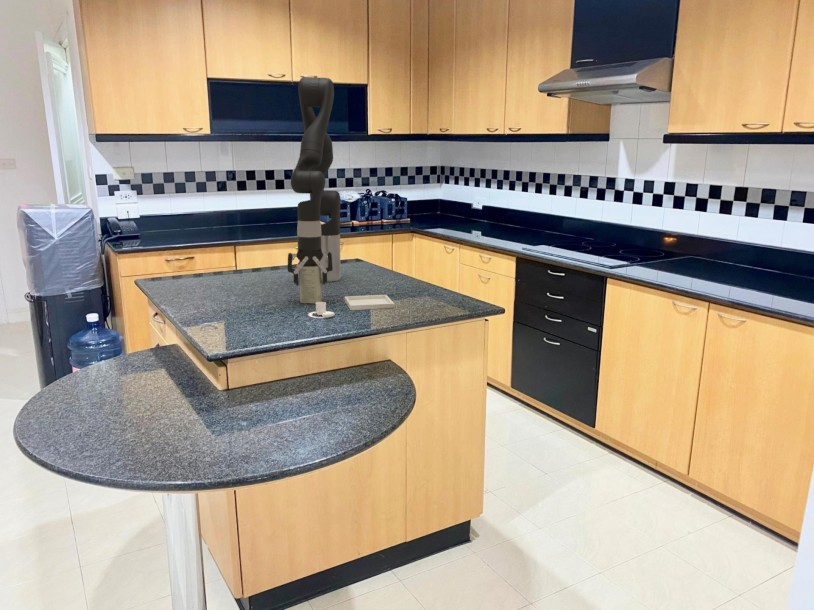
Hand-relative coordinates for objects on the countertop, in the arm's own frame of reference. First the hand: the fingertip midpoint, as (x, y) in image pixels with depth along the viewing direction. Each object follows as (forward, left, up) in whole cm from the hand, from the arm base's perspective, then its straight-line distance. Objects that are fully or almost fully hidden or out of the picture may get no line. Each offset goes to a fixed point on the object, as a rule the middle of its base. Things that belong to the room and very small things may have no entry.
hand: (310, 284), depth 208 cm
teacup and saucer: (+19, 0, -7) cm, 20 cm away
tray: (+7, +18, -6) cm, 20 cm away
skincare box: (0, 0, -6) cm, 6 cm away
